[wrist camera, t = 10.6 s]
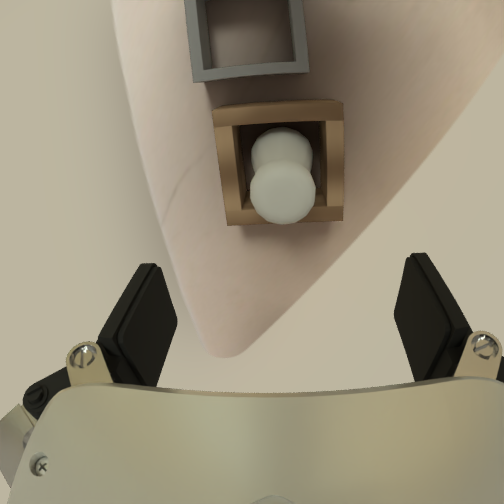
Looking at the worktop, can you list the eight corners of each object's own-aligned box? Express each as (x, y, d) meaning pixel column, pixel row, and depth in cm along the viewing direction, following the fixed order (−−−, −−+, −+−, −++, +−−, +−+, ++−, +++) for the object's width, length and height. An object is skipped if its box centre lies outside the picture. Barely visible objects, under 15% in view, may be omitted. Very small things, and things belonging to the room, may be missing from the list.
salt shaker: (305, 119, 28) (324, 147, 17) (314, 173, 31) (334, 232, 20) (247, 129, 29) (226, 163, 18) (258, 182, 32) (247, 245, 21)
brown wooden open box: (221, 105, 28) (211, 110, 24) (332, 99, 27) (342, 103, 22) (234, 204, 33) (227, 225, 29) (334, 200, 32) (342, 220, 28)
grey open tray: (194, -5, 22) (182, -15, 18) (295, -16, 20) (298, -29, 17) (203, 82, 27) (193, 82, 23) (305, 73, 25) (309, 72, 22)
